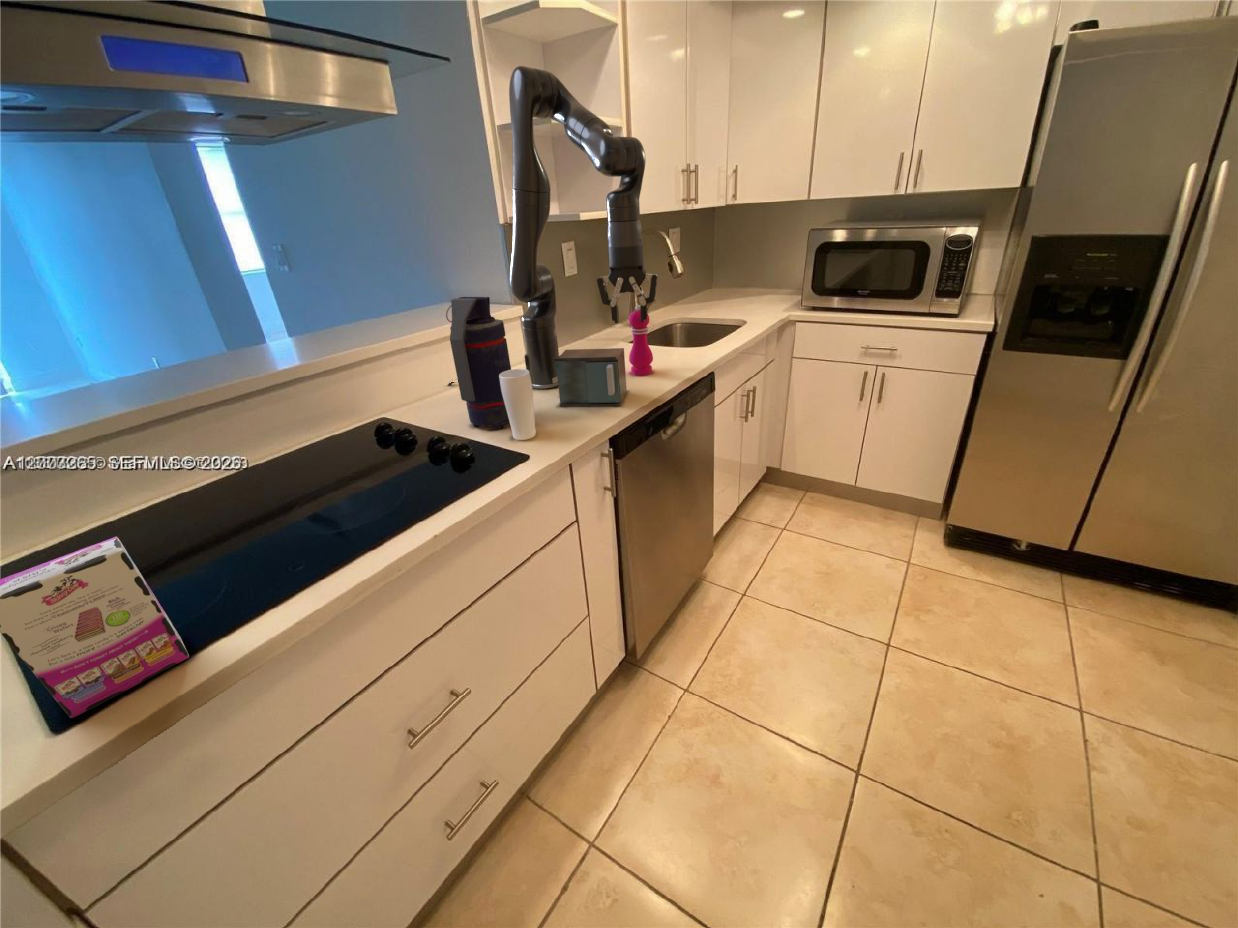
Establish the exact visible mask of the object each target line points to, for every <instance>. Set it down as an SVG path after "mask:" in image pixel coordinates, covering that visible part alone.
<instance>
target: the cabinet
mask: <svg viewBox="0 0 1238 928" xmlns="http://www.w3.org/2000/svg"><path fill="white" fill-rule="evenodd" d="M554 362H555V364H556V372H557V380H558V386H557V388H558V394H559V402H560V403H559V404H558V406H559V407H560V408H561V407H620V406H621V404H622V402H623V400H624V398H625V396H626V393H627V392H628V390H627V373H626V361H625V348H624V347H617V348H613V347H612V348H609V347H608V348H580V349H579V348H577V349H574V348H573V349H572V348H571V349H565V350H564V351H563V352H562V353H561V354H559V357H558V358H554ZM589 362H617V368H618V382H619V396H620V402H597V403H589V397H588V387H587V377H586V367H585V363H589Z"/></svg>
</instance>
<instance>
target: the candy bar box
mask: <svg viewBox="0 0 1238 928" xmlns="http://www.w3.org/2000/svg"><path fill="white" fill-rule="evenodd" d="M0 634H1V636H2V637H3V639H5V640H6V642H7V643H8V644H9V645H10V646H11V648H12V649H13V650H14V651H15V653H16V654H17V655H18V657H20V659H21V660H22V661H23V662H24V664H25V665H26V666H27V667H28V669H29V670H30V672H32V673H33V674H34V676H35V677H36V678H37V679H38V680H39V682H40V683H41V684H42V685H43V687H44V688H45V689H46V691H47V692H48V693H49V694H50V695H51V696H52V697H53V698H54V700H55V701H56V702H57V704H58V705H59V706H60V708H61V709H62V710H63V711H64V713H65V714H66V715H67V716H68V717H69V718H70V719H73V718H76V717H78V716H80V715H82V714H84V713H86V712H88V711H90V710H92V709H94V708H96V707H98V706H100V705H101V704H103V703H105V702H107V701H109V700H111V699H113V698H116V697H117V696H118V695H121V694H123V693H125V692H126V691H128V690H130V689H132V688H134V687H136V686H138V685H140V684H142V683H144V682H145V681H147V680H149V679H151V678H153V677H155V676H158V674H161V673H162V672H165V671H167V670H169V669H170V668H172V667H174V666H176V665H178V664H180V663H182V662H183V661H186V660H187V659H189V658H190V654H189V653H188V650H187V648H186V646H185V643H184V642H183V639H182V637H181V636H180V634H179V633H178V630H177V629H176V628H175V626H174V625H173V623H172V621H171V620H170V618H169V616H168V614H167V613H166V611H165V610H164V608H163V606H161V604H160V602H159V600H158V599H157V597H156V596H155V593H153V590H152V589H151V587H150V586H149V585H148V582H147V581H146V580H145V578H144V576H143V575H142V573H141V572H140V570H139V568H138V567H137V565H136V564H135V562H134V561H133V559H132V557H131V556H130V554H129V553H128V551H127V549H126V548H125V546H124V544H123V543H122V541H121V540H120V539H119V537H118V536H114V537H111V538H109V539H106V540H103V541H101V542H98V543H95V544H92V545H90V546H89V545H88V546H86V547H84V548H81V549H78V550H75V551H73V552H71V553H68V554H65V555H63V556H59V557H57V558H55V559H52V560H49V561H46V562H44V563H41V564H38V565H35V566H33V567H30V568H28V569H24V570H22V571H19V572H17V573H14V574H11V575H8V576H6V577H3V578H1V579H0Z"/></svg>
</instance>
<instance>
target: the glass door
mask: <svg viewBox="0 0 1238 928" xmlns="http://www.w3.org/2000/svg"><path fill="white" fill-rule="evenodd" d="M585 367H586V377H587V387H588V397H589V403H597V402H620V396H619V382H618V368H617V362H589V363H585Z"/></svg>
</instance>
